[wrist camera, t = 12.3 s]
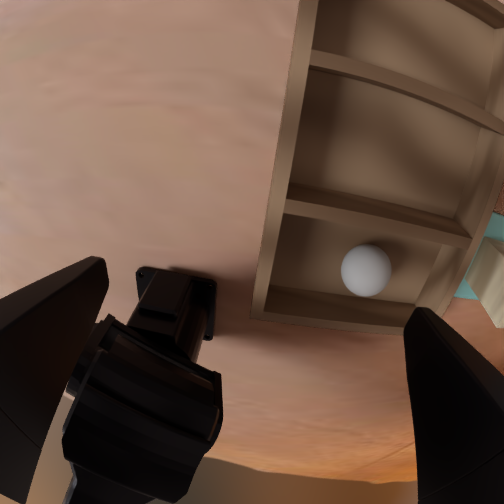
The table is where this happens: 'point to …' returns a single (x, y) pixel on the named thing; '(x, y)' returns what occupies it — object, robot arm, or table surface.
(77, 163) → the table surface
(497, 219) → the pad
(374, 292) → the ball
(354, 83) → the caddy
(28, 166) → the table surface
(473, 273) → the block with dark square
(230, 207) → the table surface
